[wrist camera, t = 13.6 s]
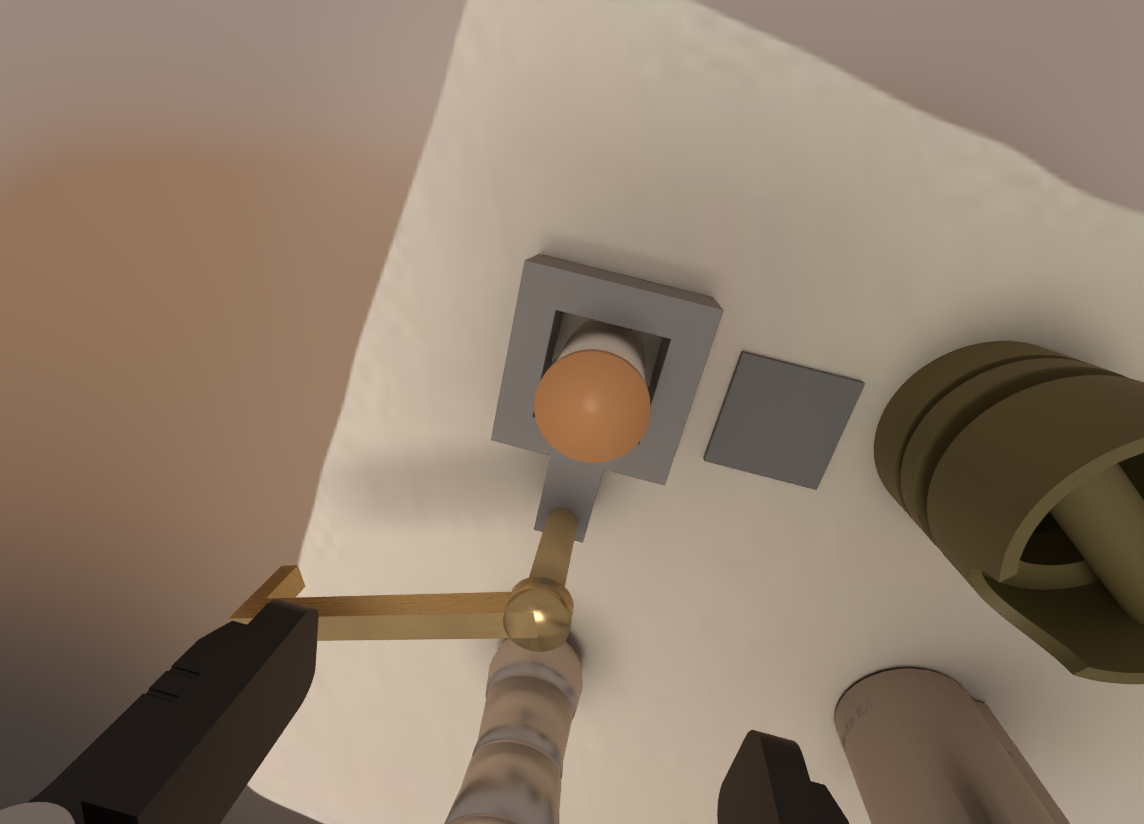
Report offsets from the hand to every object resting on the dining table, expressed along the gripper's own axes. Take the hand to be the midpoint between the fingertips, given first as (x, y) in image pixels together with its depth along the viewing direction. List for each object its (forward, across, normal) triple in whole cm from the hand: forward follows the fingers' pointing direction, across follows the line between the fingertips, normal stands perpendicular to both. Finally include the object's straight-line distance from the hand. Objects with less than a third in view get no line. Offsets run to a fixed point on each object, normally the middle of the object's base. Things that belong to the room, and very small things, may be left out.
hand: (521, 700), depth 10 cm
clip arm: (+16, +6, +11) cm, 20 cm away
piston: (+24, -22, -1) cm, 33 cm away
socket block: (+24, 0, +3) cm, 24 cm away
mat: (+24, -11, +1) cm, 26 cm away
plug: (+24, 0, 0) cm, 24 cm away
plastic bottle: (+24, -1, +23) cm, 33 cm away
